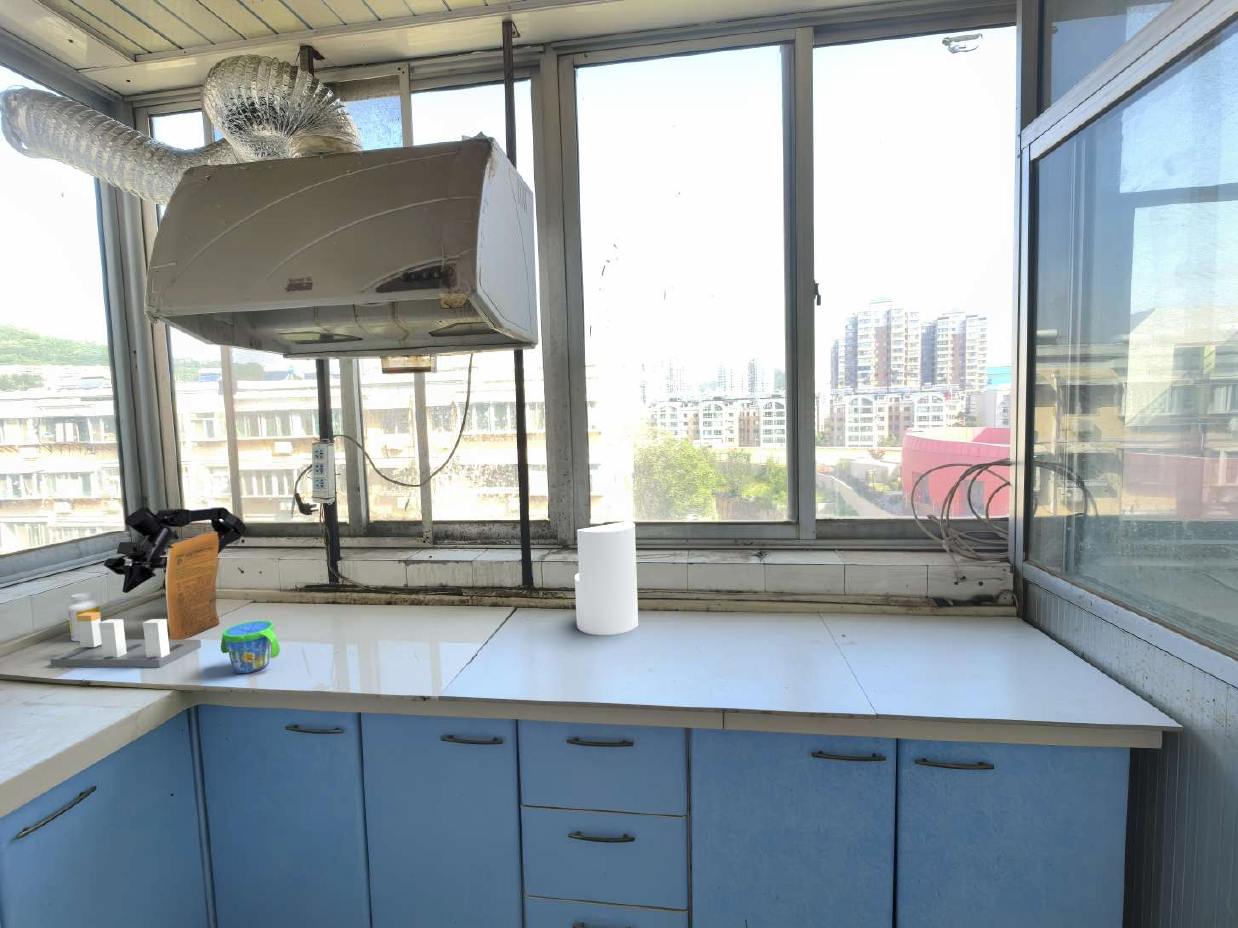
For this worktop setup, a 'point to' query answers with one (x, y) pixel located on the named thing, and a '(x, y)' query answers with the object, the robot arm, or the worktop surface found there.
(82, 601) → the supplement bottle
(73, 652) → the grey plate with uprights
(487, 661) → the worktop surface
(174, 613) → the pancake mix bag
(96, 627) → the block
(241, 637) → the snack cup
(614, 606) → the cylinder
